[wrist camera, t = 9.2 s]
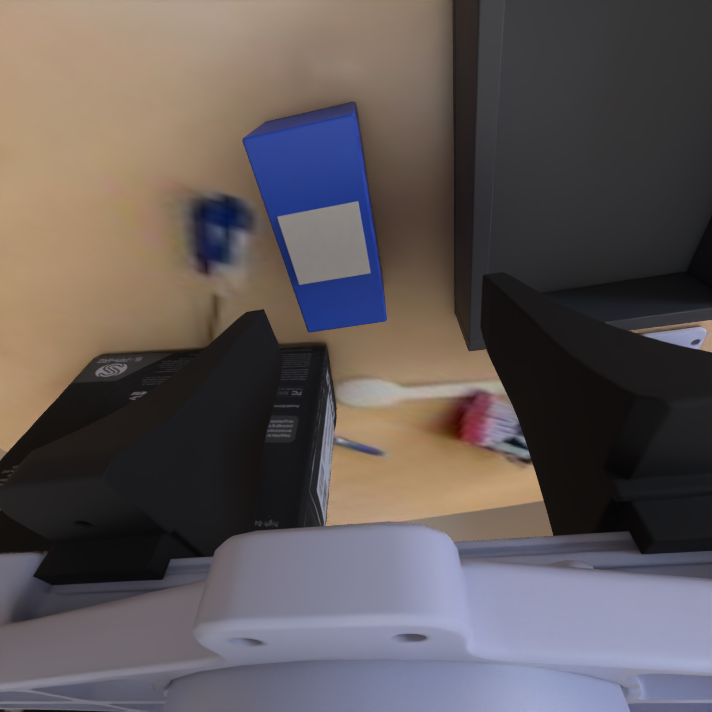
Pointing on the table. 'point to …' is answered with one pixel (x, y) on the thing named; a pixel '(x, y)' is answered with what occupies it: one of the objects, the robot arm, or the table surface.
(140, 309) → the table surface
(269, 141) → the blue box
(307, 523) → the graphics card box
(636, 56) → the desk bin
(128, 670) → the robot arm
